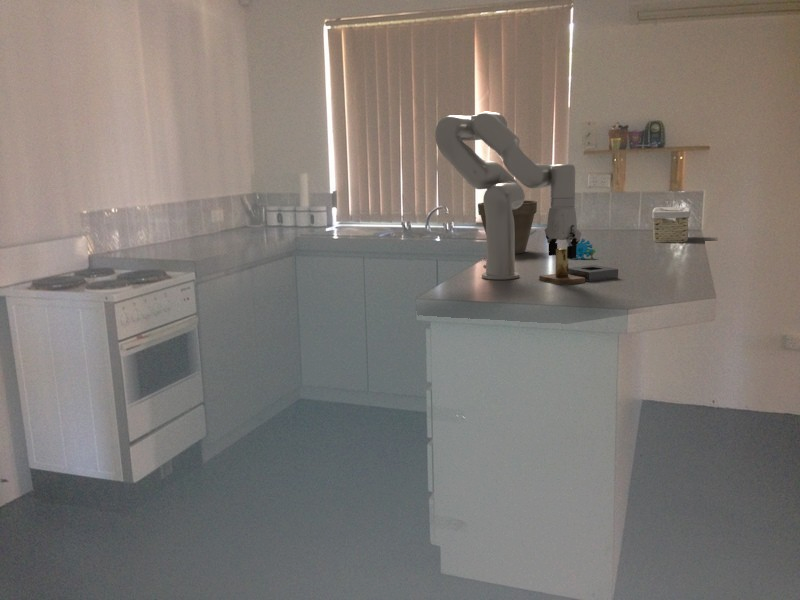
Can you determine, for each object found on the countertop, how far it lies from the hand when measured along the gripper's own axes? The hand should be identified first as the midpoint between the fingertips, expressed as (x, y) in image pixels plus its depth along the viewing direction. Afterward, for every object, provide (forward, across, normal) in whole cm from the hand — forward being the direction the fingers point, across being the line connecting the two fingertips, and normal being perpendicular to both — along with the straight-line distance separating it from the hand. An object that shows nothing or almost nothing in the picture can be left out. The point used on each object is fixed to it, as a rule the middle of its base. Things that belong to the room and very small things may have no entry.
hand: (562, 256), depth 231 cm
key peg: (+6, 0, 0) cm, 6 cm away
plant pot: (+8, -74, +28) cm, 79 cm away
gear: (+8, -39, +39) cm, 56 cm away
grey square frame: (+8, 0, +12) cm, 15 cm away
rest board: (+8, 0, 0) cm, 8 cm away
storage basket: (+8, -64, +111) cm, 129 cm away
